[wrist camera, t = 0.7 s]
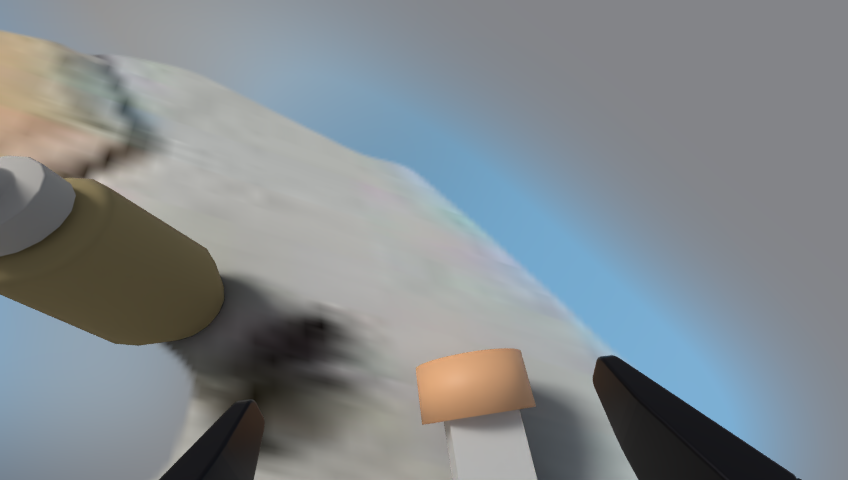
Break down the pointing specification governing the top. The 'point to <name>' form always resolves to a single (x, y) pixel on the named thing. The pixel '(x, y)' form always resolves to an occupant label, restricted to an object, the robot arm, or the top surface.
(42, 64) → the top surface
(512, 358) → the white and tan bar
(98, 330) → the squeeze bottle
